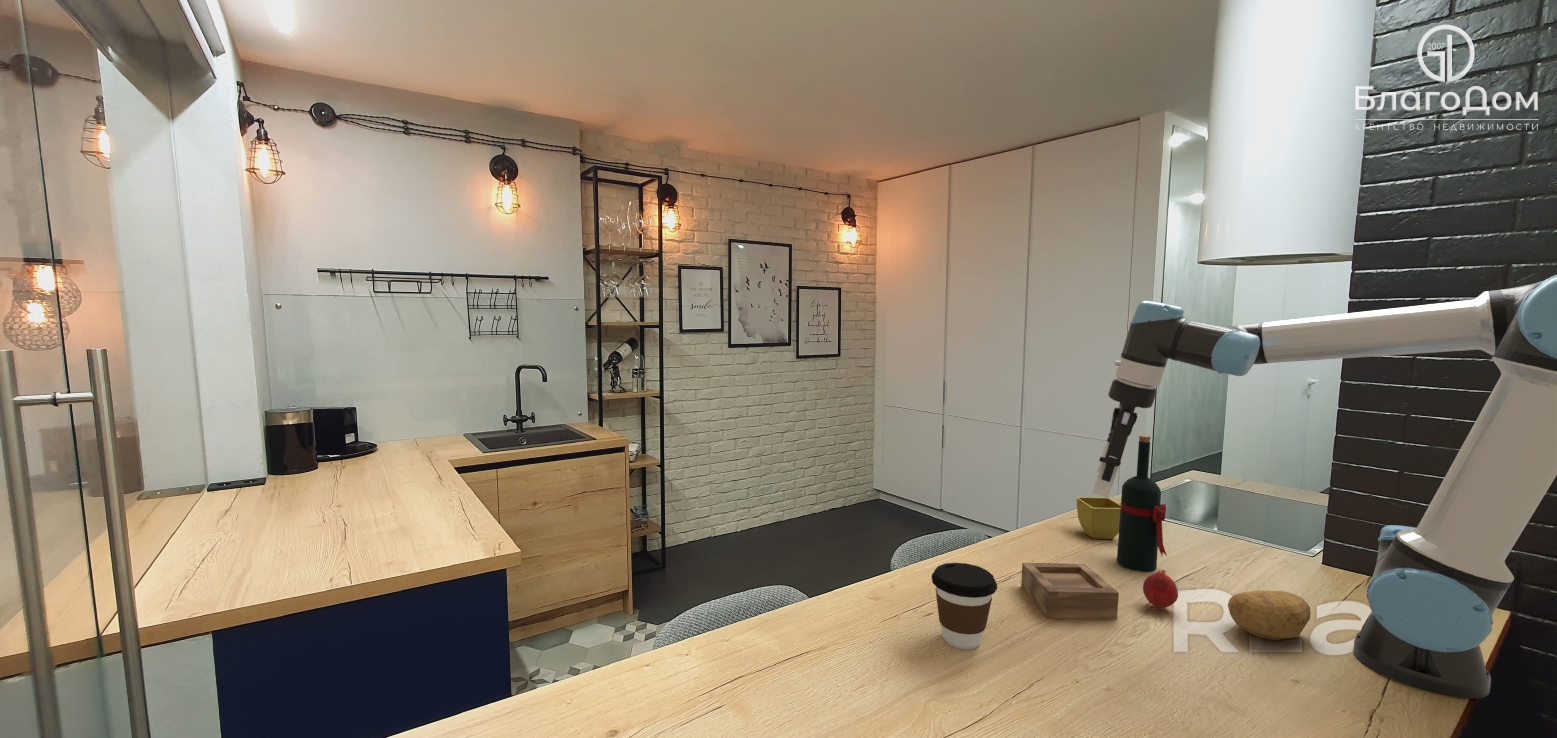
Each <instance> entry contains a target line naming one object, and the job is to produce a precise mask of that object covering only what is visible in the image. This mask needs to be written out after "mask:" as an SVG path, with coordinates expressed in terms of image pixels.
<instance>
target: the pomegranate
mask: <svg viewBox="0 0 1557 738" xmlns="http://www.w3.org/2000/svg"><path fill="white" fill-rule="evenodd" d="M1142 593H1143V595H1144V597H1145V598H1146V600H1147V601H1148V603H1150V604H1151V605H1152V606H1154V607H1155V608H1156V609H1158V610H1163V609H1166V608H1169V607H1170V606H1171V607H1172V606H1173V604H1174V603H1176V602H1177V600H1178V598H1179V590H1178V586H1177V584H1176V582H1175V581H1174V580H1173V579H1172V578H1171V577H1170V576H1169V575H1167V574H1166V569H1164V568H1159V569H1158V571H1157V572H1156V573H1152V574H1150V575H1149V576H1147V577H1146V579H1144V581H1143V586H1142Z"/></svg>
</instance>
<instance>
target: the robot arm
mask: <svg viewBox="0 0 1557 738" xmlns="http://www.w3.org/2000/svg"><path fill="white" fill-rule="evenodd" d="M1184 313H1185V310H1184V308H1182V307H1180V306H1178V305H1172V304H1167V303H1164V302H1158V301H1157V302H1156V301H1152V300H1144V301H1141V302H1139V303H1138V304H1137V307H1136V308H1135V311H1134V314H1133V317H1132V319H1131V321H1130V323H1129V327H1128V331H1127V335H1126V338H1125V340H1124V345H1123V348H1122V350H1121V351H1122V352H1121V353H1120V358H1119V360H1115V362H1114V365H1115V366H1116V370H1115V373H1114V375H1115V377H1116V378H1114V379H1113V380H1112V382H1111V385H1110V388H1109V391H1108V397H1109V398H1110V399H1112V400H1113V401H1114V402H1117V403H1119V404H1118V405H1119V406H1118V407H1116V406H1115V407H1114V409H1113V412H1112V417H1111V425H1110V431H1109V433H1108V437H1107V442H1106V443H1105V445H1104V449H1103V452H1102V455H1101V456H1100V457H1099V460H1098V462H1099V464H1098V468H1097V469H1096V470H1097V471H1096V473H1098V475H1097V477H1096V480H1095V483H1094V486H1093V490H1092V494H1095V495H1098V496H1101V497H1103V498H1110V497H1109V496H1110V493H1111V490H1112V489H1113V488H1112V487H1113V484H1114V481H1115V478H1116V475H1117V473H1118V471H1119V467H1120V465H1121V464H1122V461H1121V460H1122V458H1123V454H1124V451H1125V448H1126V444H1127V441H1128V438H1129V436H1131V434H1132V431H1133V428H1134V426H1135V424H1136V422H1137V421H1138V420H1137V419H1138V413H1137V412H1135V410H1136V408H1140V409H1149V408H1152V407H1153V404H1154V401H1155V399H1156V395H1157V393H1158V391H1157V389H1156V388H1158V387H1160V384H1161V383H1162V379H1163V376H1164V373H1165V370H1166V365H1167V363H1168V361H1169V360H1172V361H1174V362H1181V363H1183V364H1188V365H1191V366H1195V367H1199V368H1204V369H1206V370H1210V371H1213V372H1217V373H1218V374H1221V375H1222V374H1226V375H1230V376H1236V377H1243V376H1246V375H1247V374H1248V373H1249V371H1250V370H1251V369H1252V367H1253V366H1254V365H1265V364H1276V363H1277V364H1279V363H1290V362H1291V363H1293V362H1307V361H1322V360H1323V361H1324V360H1339V359H1353V358H1354V359H1355V358H1368V357H1382V356H1383V357H1384V356H1398V355H1401V356H1402V355H1415V354H1430V353H1445V352H1460V351H1474V350H1480V351H1482V352H1485V353H1487V354H1489V355H1491V356H1492V358H1491V360H1492V361H1493V362H1494V363H1495V364H1494V365H1496V367H1497V368H1498V369H1499V371H1500V377H1499V379H1498V380H1497V383H1496V384H1495V385H1494V388H1493V389H1492V391H1491V393H1490V395H1489V397H1488V399H1487V400H1486V402H1485V404H1484V406H1483V407H1482V409H1481V411H1480V413H1479V415H1478V417H1477V418H1476V420H1475V421H1474V424H1473V426H1471V427H1472V428H1471V429H1470V431H1469V433H1468V435H1467V436H1466V438H1465V439H1464V442H1463V444H1462V445H1461V447H1460V450H1459V451H1458V452H1457V454H1456V456H1455V459H1454V460H1453V462H1452V464H1451V465H1450V467H1449V469H1448V471H1447V472H1446V474H1445V476H1444V477H1443V480H1442V481H1441V484H1440V485H1439V487H1438V488H1437V490H1436V493H1435V494H1434V496H1433V498H1432V500H1431V501H1430V503H1429V505H1428V507H1427V508H1426V511H1425V512H1424V515H1423V516H1422V518H1421V520H1420V522H1419V523H1418V525H1417V527H1413V526H1406V525H1397V524H1396V525H1395V524H1394V525H1393V524H1390V525H1385V526H1384V527H1382V528H1381V530H1380V535H1379V537H1378V538H1377V542H1378V552H1377V559H1376V563H1375V568H1374V570H1373V571H1374V572H1373V574H1372V578H1371V580H1370V582H1369V584H1368V585H1367V587H1366V599H1367V601H1368V606H1369V608H1370V610H1371V612H1370V614H1369V615H1368V616H1367V618H1366V620H1365V622H1364V623H1363V625H1362V627H1361V629H1360V632H1358V633H1357V634H1356V635H1355V637H1354V641H1353V650H1352V651H1353V654H1354V656H1355V658H1357V659H1358V660H1359V661H1360V662H1361V663H1363V664H1364V665H1365V666H1366V667H1368V668H1370V669H1372V670H1373V671H1375V672H1377V673H1378V674H1380V675H1383V676H1385V677H1387V678H1389V679H1391V680H1394V681H1396V682H1399V683H1402V684H1403V685H1407V686H1408V687H1409V686H1410V687H1413V688H1415V689H1418V690H1421V691H1425V692H1429V693H1432V694H1437V695H1442V696H1446V697H1451V698H1458V699H1467V700H1468V699H1472V700H1473V699H1475V700H1476V699H1477V700H1478V699H1482V698H1485V697H1488V696H1489V694H1490V692H1491V682H1492V678H1491V674H1490V672H1489V670H1488V669H1487V667H1486V665H1485V661H1484V656H1483V652H1482V648H1481V646H1480V645H1481V644H1482V643H1483V642H1484V641H1486V639H1487V638H1488V637H1489V635H1490V634H1491V633H1492V631H1493V625H1494V620H1493V614H1494V613H1495V611H1496V609H1497V608H1498V606H1499V604H1500V603H1501V601H1502V599H1503V598H1504V596H1505V594H1506V593H1507V591H1508V590H1509V588H1510V586H1511V585H1512V584H1513V582H1514V580H1515V577H1514V575H1513V573H1512V572H1511V570H1510V569H1509V567H1508V566H1507V565H1506V559H1507V557H1508V556H1509V554H1510V552H1511V551H1512V549H1513V547H1514V546H1515V544H1516V543H1517V541H1518V539H1519V538H1520V536H1521V534H1522V532H1523V531H1524V530H1525V528H1526V526H1527V524H1528V522H1529V521H1530V520H1531V518H1532V516H1533V514H1534V513H1535V512H1536V510H1537V508H1538V506H1539V505H1540V503H1541V502H1542V500H1543V498H1544V496H1545V495H1546V493H1547V492H1548V490H1549V488H1550V486H1551V485H1552V483H1553V482H1554V480H1555V479H1556V477H1557V274H1555V275H1552V276H1550V277H1549V278H1547V279H1545V280H1542V281H1537V282H1534V283H1531V284H1526V285H1520V286H1516V287H1511V288H1504V289H1497V290H1496V289H1495V290H1487V291H1483V292H1482V293H1481V294H1479V295H1478V296H1477V297H1475V298H1473V299H1467V300H1459V301H1458V300H1457V301H1449V302H1438V303H1429V304H1422V305H1421V304H1420V305H1413V306H1403V307H1393V308H1385V309H1375V310H1367V311H1366V310H1365V311H1358V312H1357V311H1355V312H1349V313H1339V314H1329V315H1328V314H1327V315H1322V316H1321V315H1320V316H1311V317H1301V318H1293V319H1292V318H1291V319H1283V320H1274V321H1266V322H1256V323H1248V324H1239V325H1238V324H1236V325H1235V324H1234V325H1227V326H1220V325H1219V326H1217V325H1213V324H1208V323H1203V322H1197V321H1192V320H1188V319H1186V318H1185V316H1184Z"/></svg>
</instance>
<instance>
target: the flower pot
mask: <svg viewBox="0 0 1557 738" xmlns="http://www.w3.org/2000/svg"><path fill="white" fill-rule="evenodd" d="M1076 508H1077V509H1076V510H1077V518H1078V522H1079V524H1080V526H1081V529H1082V530H1083V532H1084V533H1085V534H1087V535H1088V536H1090V537H1091V538H1092V539H1096V540H1097V539H1099V540H1100V539H1101V540H1112V539H1115V537H1116V536H1117V535H1119V523H1120V509H1121V503H1119V502H1117V501H1115V500H1113V499H1111V498H1110V497H1108V498H1107V497H1104V496H1101V497H1098V496H1097V497H1093V496H1091V497H1090V496H1089V497H1087V496H1085V497H1083V496H1077V497H1076Z"/></svg>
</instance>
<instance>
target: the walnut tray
mask: <svg viewBox="0 0 1557 738" xmlns="http://www.w3.org/2000/svg"><path fill="white" fill-rule="evenodd" d="M1020 584H1021V585H1020V587H1021V589H1023V590H1024V592H1025V594H1027V595H1028V596H1029V598H1030V599H1031V600H1032V601H1033V602H1034V603H1035V605H1036V606H1037V607H1038V608H1039V610H1041V612H1042V613H1043V615H1044V616H1045V617H1046V618H1047V619H1084V620H1085V619H1087V620H1118V612H1119V611H1118V609H1119V594H1120V592H1118V590H1117V589H1115V588H1114V587H1113V586H1112V585H1110V584H1109V583H1108V582H1107V581H1105V580H1104V578H1102V577H1101V576H1100V575H1099V574H1097V573H1096V572H1095V571H1094V570H1093V569H1092V568H1090V567H1089V566H1088V565H1087V564H1086V563H1054V562H1050V563H1049V562H1044V563H1043V562H1022V563H1021V580H1020Z"/></svg>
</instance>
